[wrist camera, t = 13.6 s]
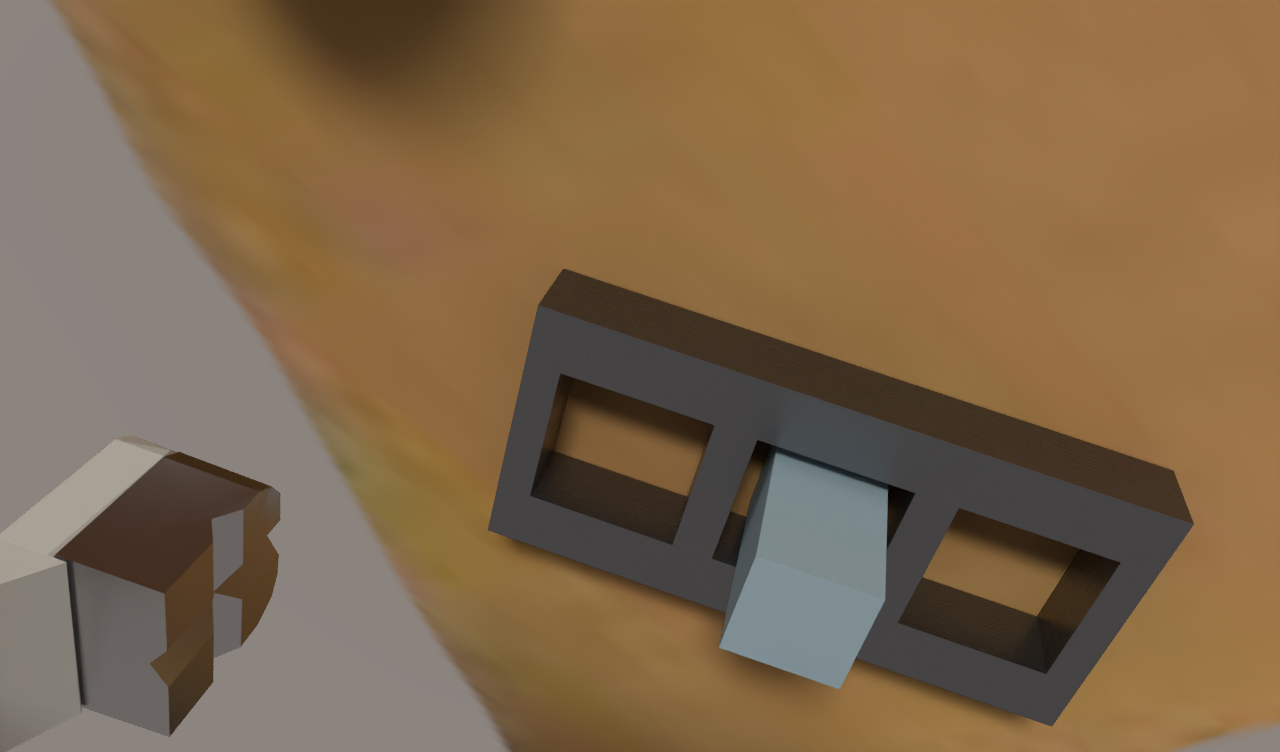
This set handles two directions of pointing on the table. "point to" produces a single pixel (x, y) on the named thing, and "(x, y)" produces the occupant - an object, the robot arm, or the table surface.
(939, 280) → the table surface
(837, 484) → the square block
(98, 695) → the robot arm
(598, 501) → the hole rail
